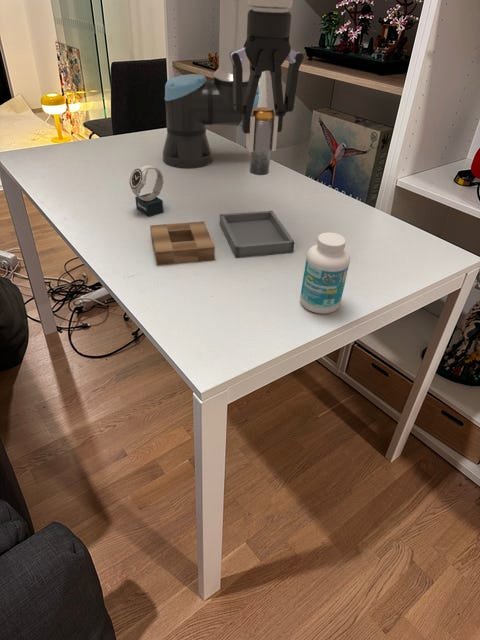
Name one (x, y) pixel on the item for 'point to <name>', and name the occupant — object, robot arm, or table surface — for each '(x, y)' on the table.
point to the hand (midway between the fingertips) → (260, 148)
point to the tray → (256, 234)
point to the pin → (261, 141)
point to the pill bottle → (325, 274)
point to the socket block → (182, 243)
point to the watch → (149, 202)
